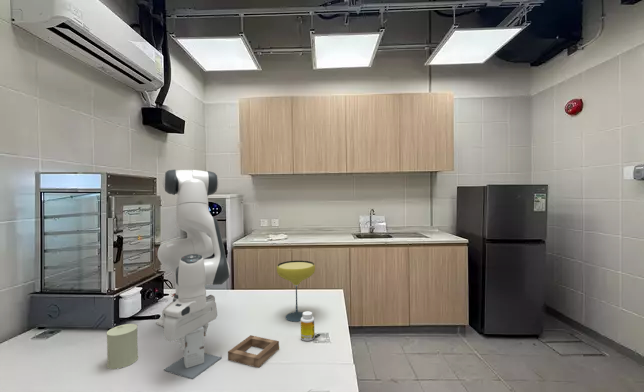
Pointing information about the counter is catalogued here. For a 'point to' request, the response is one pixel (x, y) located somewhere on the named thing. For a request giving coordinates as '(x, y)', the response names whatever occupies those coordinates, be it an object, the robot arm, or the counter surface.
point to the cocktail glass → (295, 279)
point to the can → (122, 346)
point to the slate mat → (194, 370)
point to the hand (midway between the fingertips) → (193, 342)
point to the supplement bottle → (307, 326)
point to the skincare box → (194, 348)
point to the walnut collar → (248, 358)
